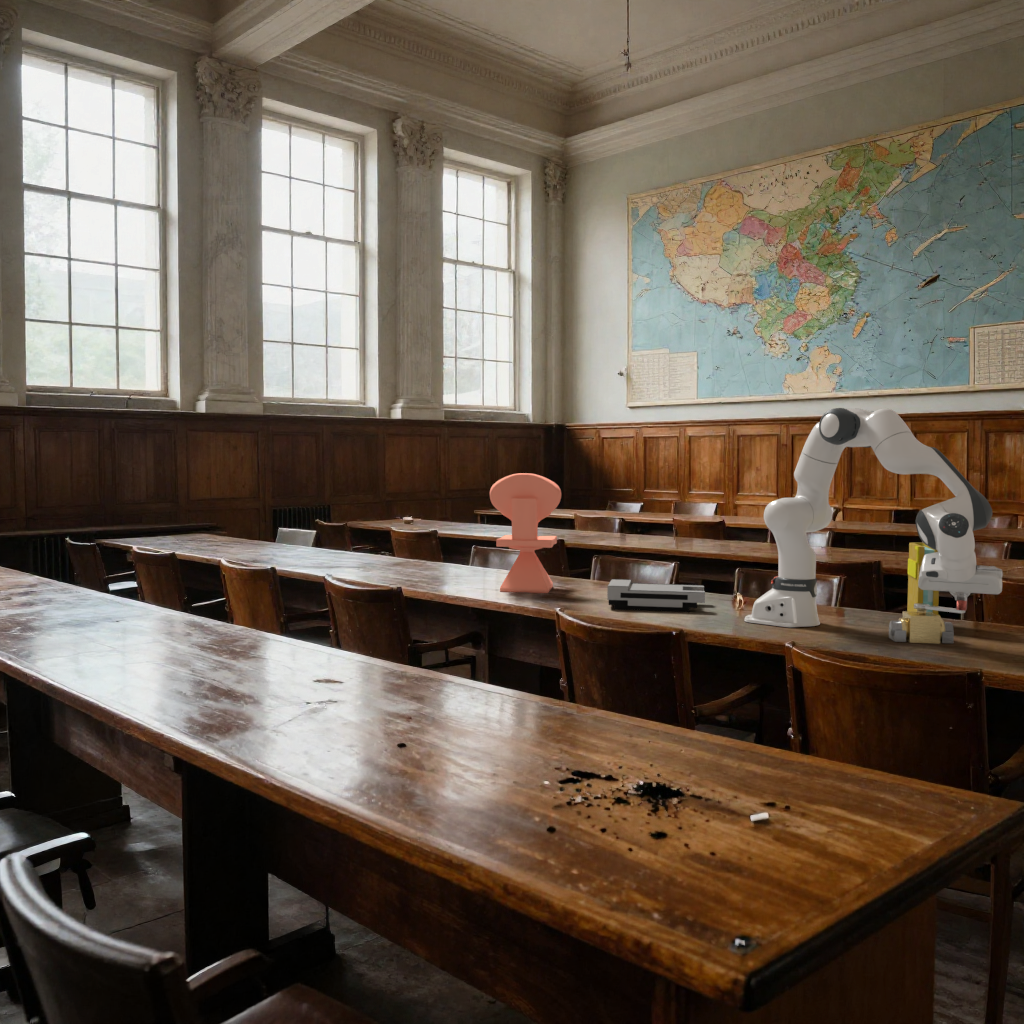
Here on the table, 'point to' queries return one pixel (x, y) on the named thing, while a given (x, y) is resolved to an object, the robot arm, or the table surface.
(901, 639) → the valve body
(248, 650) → the table surface
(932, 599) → the book
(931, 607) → the lever
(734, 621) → the table surface
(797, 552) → the robot arm
